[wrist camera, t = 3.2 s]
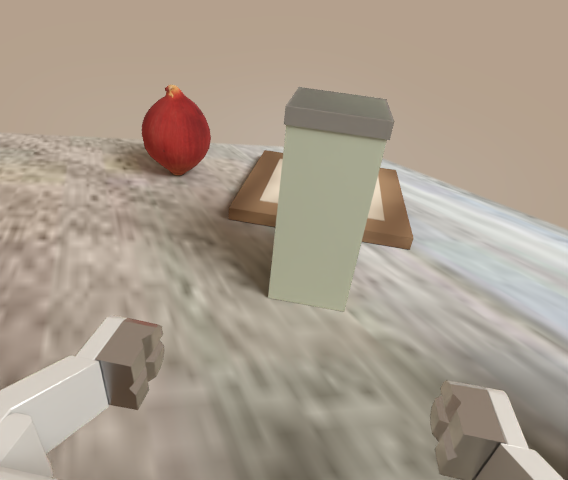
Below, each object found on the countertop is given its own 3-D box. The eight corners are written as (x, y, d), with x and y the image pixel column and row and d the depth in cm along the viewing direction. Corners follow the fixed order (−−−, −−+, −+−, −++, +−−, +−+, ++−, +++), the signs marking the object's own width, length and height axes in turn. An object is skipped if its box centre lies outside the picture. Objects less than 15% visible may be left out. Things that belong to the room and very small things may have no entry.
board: (228, 219, 30) (228, 206, 29) (264, 159, 42) (264, 149, 41) (409, 249, 29) (413, 237, 28) (393, 179, 41) (396, 169, 40)
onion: (173, 158, 39) (169, 74, 35) (221, 172, 38) (223, 85, 33) (132, 176, 35) (121, 82, 31) (185, 193, 33) (181, 95, 29)
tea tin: (266, 298, 23) (285, 105, 17) (279, 254, 27) (298, 87, 21) (345, 313, 22) (394, 121, 16) (347, 266, 26) (386, 99, 20)
